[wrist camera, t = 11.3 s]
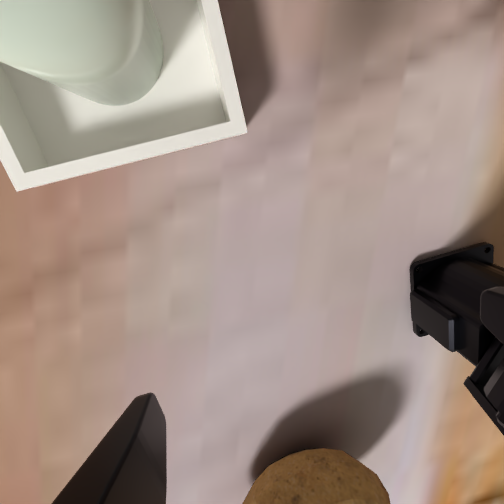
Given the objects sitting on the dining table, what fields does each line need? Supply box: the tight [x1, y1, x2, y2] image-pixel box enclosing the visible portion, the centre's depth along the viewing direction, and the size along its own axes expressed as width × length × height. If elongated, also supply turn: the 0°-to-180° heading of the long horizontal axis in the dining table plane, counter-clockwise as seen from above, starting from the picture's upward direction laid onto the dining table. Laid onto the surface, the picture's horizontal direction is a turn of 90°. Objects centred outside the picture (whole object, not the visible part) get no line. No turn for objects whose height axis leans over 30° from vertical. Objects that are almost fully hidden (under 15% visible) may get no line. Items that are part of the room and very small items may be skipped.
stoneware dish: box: [0, 0, 248, 191], centre depth 14 cm, size 11×11×3 cm
